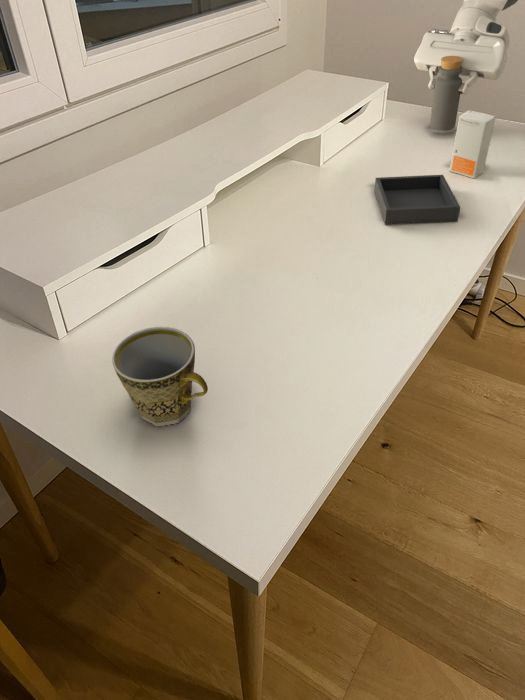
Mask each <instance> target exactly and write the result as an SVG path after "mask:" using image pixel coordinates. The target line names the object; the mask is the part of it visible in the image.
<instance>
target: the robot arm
mask: <svg viewBox="0 0 525 700" xmlns="http://www.w3.org/2000/svg"><path fill="white" fill-rule="evenodd" d="M518 1H519V0H463V2H462V5H461V7H460V8H459V9H458V11H457V13H456V15H455V17H454V20H453V23H452V25H451V28H450V29H438V28H432V29H431V30H428V31H427V32H425V33H424V35H423V37H422V40H421V43H420V45H419V46H418V48H417V50H416V53H415V55H414V56H413V61H414V65H415V66H416V67H415V68H417V70H419V71H425V72H428V73H429V78H430V80H429V82H428V85H427V87H428V90H432V91H434V89H435V82H436V79H437V78H435V77H437V76H438V73H439V67H440V66H441V58H442V57H445V56H459V57H462V58H463V61H462V64H461V66H462V68H463V69H462V73H461V74H459V76H462V77H469V78H468V79H467V80H466V81H465V82H462V83H461V85H460V87H459V89H458V92H459V94H460V95H467V92H468V90H469V89H470V88H471V87H472V86H473V85H475V84H476V83H477V82H478V79H483V80H484V79H486V80H491V81H492V80H493V81H496V80H498V79H500V78H501V77H502V75H503V73H504V70H505V67H506V63H507V59H508V53H507V52H508V51H507V50H508V49H509V46H510V35H509V31H508V28H507V26H505V25H504V24H501V23H500V22H497V16H498V14H499V13H500V12H501V11H502V12H503V11H505V10H507V9H509V8H511V7H512V6H514V5H515V4H516V3H517V2H518Z"/></svg>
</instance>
